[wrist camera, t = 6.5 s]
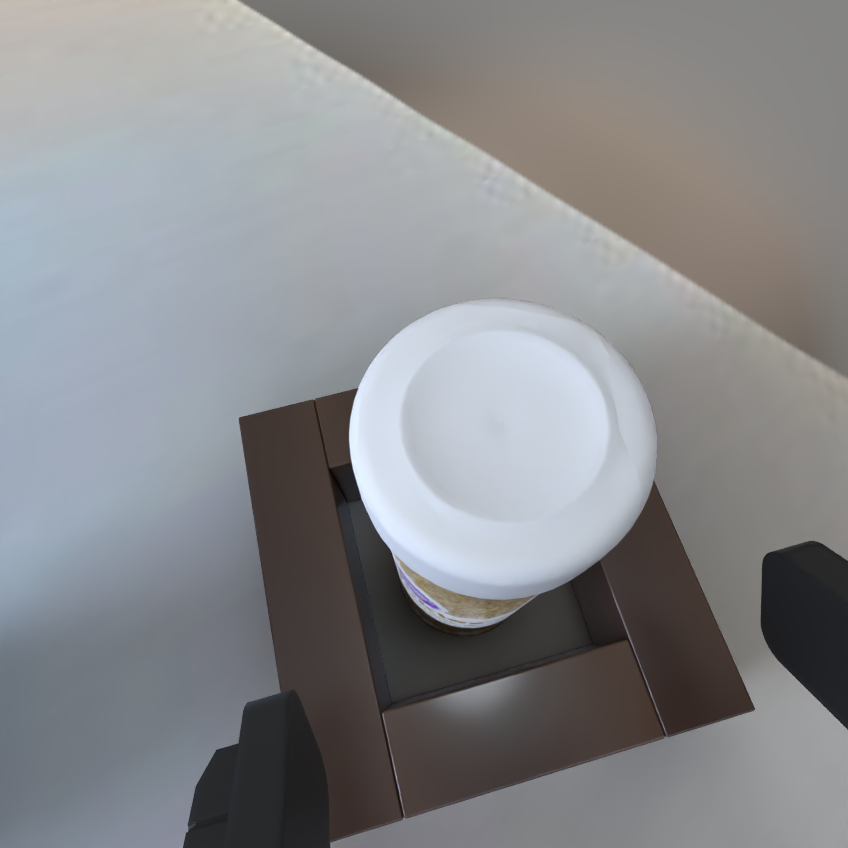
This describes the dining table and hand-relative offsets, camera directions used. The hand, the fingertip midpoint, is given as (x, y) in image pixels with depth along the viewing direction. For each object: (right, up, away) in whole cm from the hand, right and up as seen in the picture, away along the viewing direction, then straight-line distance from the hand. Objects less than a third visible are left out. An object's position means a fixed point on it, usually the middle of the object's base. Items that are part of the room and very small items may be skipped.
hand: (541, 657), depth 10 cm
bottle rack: (-1, -1, +11) cm, 11 cm away
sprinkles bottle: (-1, -1, +11) cm, 11 cm away
